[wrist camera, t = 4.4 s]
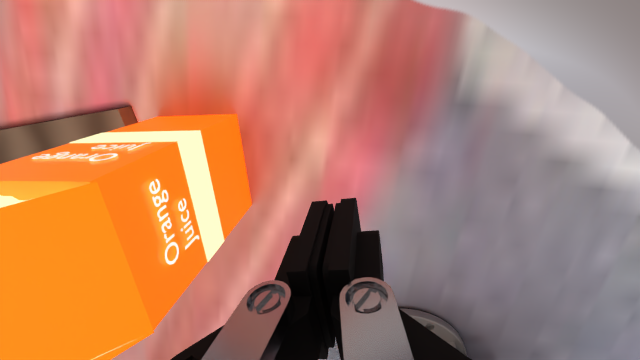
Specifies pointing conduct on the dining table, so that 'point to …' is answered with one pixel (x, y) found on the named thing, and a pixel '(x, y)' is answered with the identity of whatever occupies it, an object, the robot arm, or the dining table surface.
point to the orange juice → (113, 233)
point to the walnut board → (60, 132)
